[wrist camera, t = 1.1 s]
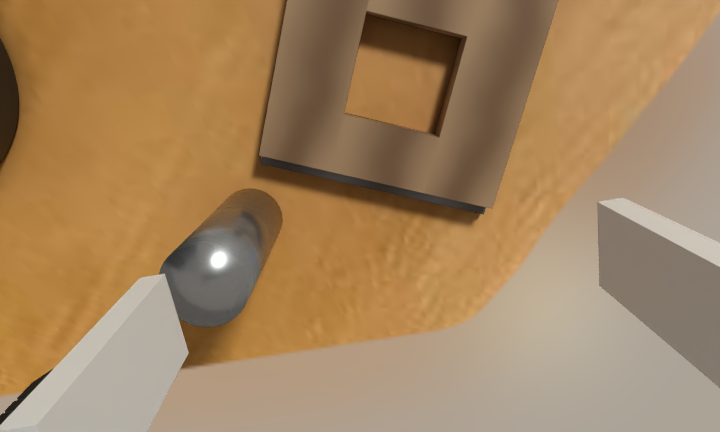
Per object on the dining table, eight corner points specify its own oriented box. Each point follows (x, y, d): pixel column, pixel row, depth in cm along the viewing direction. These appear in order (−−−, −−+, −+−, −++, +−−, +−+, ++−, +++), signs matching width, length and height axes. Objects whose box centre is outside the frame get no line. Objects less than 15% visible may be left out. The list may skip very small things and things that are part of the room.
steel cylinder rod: (216, 240, 36) (153, 317, 25) (226, 182, 35) (164, 234, 24) (276, 253, 37) (240, 334, 25) (287, 196, 36) (256, 254, 24)
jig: (262, 162, 35) (256, 167, 33) (307, -83, 31) (304, -94, 29) (481, 212, 36) (488, 219, 34) (553, -18, 32) (566, -24, 30)
